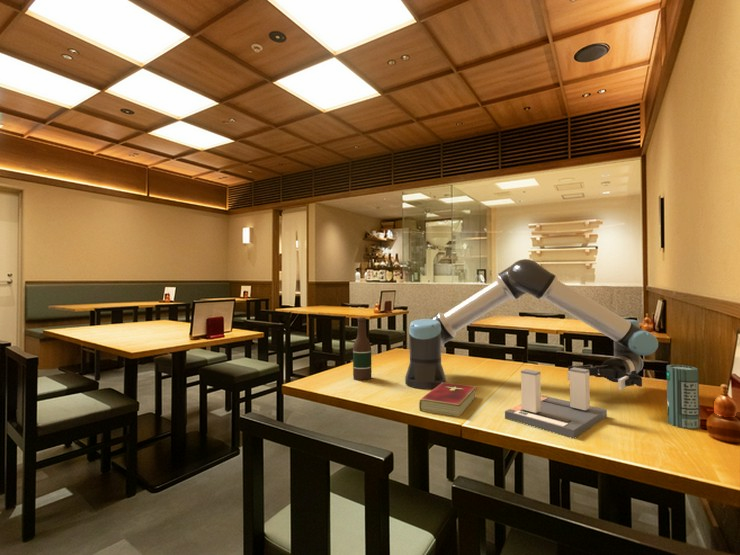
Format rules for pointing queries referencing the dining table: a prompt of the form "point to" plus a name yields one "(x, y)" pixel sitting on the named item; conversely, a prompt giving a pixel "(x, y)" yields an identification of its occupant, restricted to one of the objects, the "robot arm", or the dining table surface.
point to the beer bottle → (362, 353)
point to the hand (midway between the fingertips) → (593, 380)
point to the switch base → (551, 410)
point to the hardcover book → (448, 399)
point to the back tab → (579, 388)
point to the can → (683, 396)
